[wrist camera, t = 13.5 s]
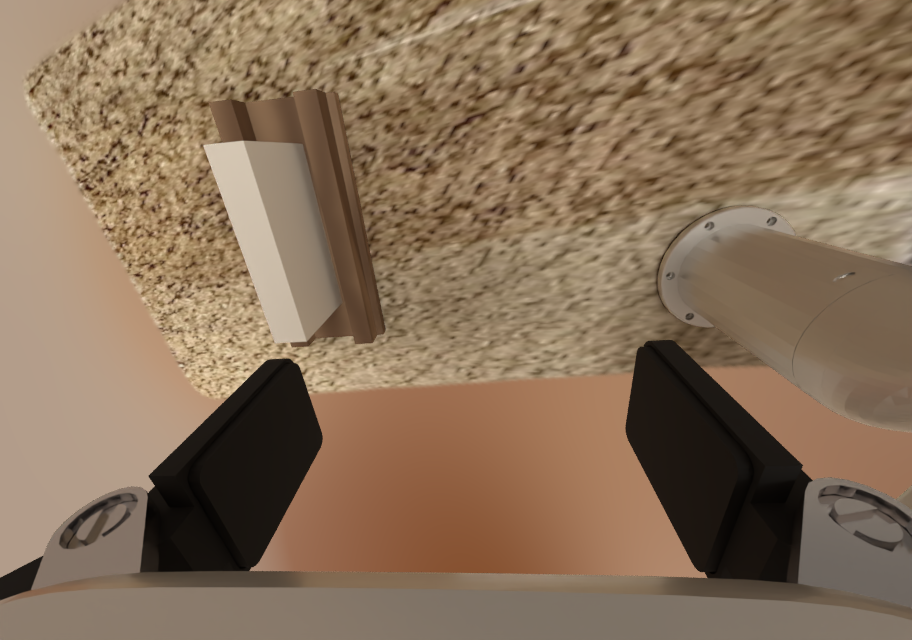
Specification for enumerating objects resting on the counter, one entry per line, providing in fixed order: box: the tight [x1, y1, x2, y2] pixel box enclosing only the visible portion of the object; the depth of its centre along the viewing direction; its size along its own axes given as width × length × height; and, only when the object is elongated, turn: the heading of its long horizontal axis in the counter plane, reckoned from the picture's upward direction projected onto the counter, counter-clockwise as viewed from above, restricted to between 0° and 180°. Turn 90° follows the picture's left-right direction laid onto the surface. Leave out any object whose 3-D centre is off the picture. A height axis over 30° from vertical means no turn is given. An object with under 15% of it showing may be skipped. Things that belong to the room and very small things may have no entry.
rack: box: [209, 89, 385, 347], centre depth 35 cm, size 11×24×3 cm, turn 5°
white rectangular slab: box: [203, 141, 342, 343], centre depth 32 cm, size 3×16×9 cm, turn 5°
